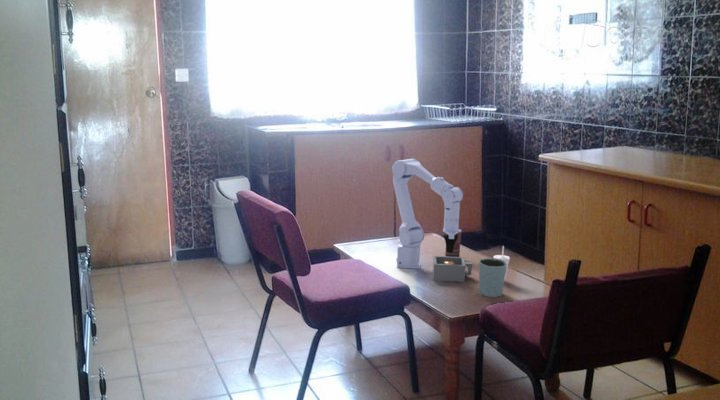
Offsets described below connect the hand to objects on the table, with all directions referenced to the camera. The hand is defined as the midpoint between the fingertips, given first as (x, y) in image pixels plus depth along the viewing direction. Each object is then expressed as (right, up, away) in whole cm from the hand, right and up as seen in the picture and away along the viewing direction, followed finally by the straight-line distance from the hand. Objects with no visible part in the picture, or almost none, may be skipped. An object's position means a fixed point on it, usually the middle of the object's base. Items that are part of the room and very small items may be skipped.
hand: (449, 252), depth 286 cm
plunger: (0, -9, +2) cm, 9 cm away
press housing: (+1, -10, +2) cm, 10 cm away
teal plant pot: (+13, -14, -17) cm, 26 cm away
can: (+5, -5, +29) cm, 30 cm away
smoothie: (+19, -11, -1) cm, 22 cm away
